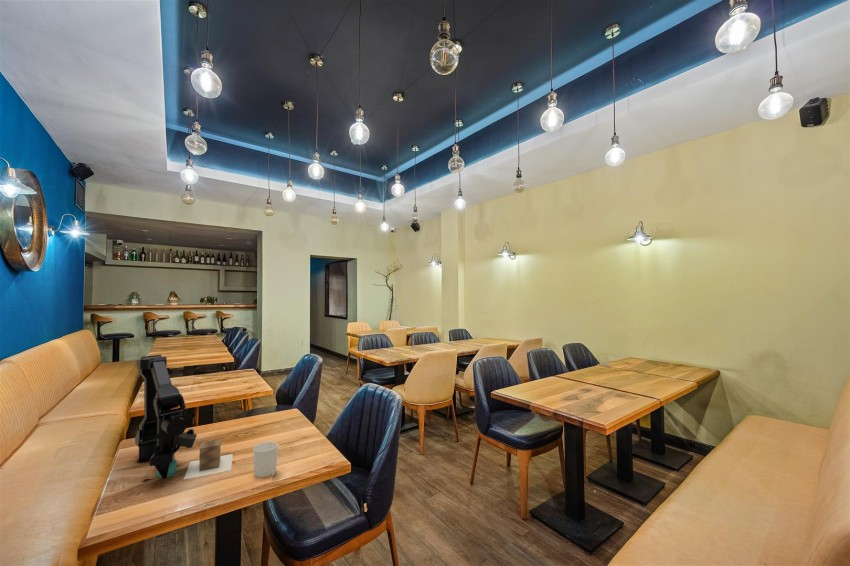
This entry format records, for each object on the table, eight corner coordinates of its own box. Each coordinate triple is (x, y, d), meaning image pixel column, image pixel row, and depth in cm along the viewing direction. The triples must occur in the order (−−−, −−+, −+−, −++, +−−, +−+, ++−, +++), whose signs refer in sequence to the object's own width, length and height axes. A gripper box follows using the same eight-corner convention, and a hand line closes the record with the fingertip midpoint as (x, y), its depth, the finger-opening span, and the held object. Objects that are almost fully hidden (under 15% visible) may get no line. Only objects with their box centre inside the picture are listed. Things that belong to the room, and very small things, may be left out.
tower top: (199, 459, 123) (199, 448, 123) (201, 452, 128) (202, 442, 128) (219, 456, 126) (219, 445, 126) (220, 449, 131) (220, 439, 131)
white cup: (270, 467, 128) (271, 439, 128) (281, 474, 123) (281, 445, 123) (248, 475, 122) (249, 447, 122) (259, 483, 117) (259, 453, 117)
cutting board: (183, 482, 117) (183, 479, 117) (190, 464, 130) (190, 461, 130) (230, 472, 124) (230, 470, 124) (232, 456, 136) (233, 453, 136)
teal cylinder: (154, 482, 117) (155, 467, 117) (158, 475, 122) (159, 460, 122) (174, 478, 120) (174, 464, 120) (177, 471, 125) (177, 457, 125)
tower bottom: (199, 471, 123) (199, 459, 123) (201, 463, 128) (201, 452, 128) (218, 467, 125) (219, 456, 126) (220, 460, 131) (220, 449, 131)
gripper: (190, 434, 117) (189, 481, 116) (198, 416, 133) (197, 457, 133) (149, 440, 112) (148, 489, 111) (163, 421, 128) (162, 464, 128)
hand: (166, 473), depth 121 cm, fingers closed on teal cylinder, 5 cm apart
